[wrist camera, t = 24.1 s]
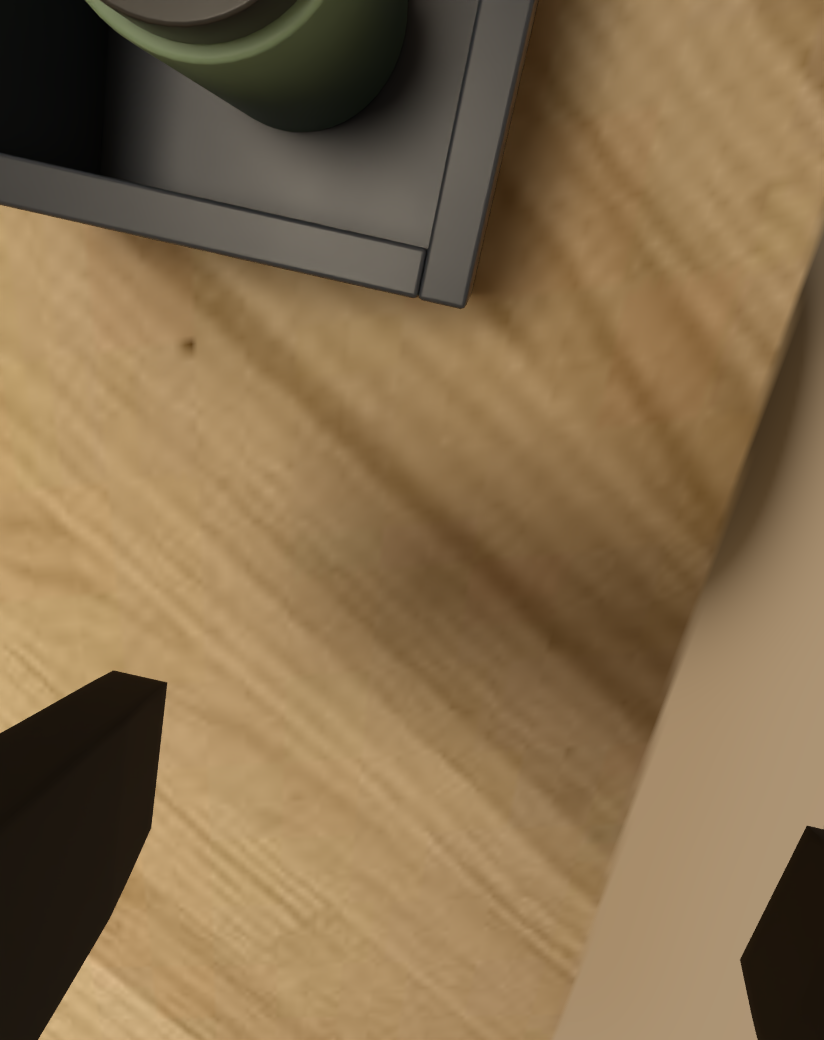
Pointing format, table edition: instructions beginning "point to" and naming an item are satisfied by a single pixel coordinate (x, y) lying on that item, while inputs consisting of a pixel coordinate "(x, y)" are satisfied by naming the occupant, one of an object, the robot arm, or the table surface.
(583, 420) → the table surface
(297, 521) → the table surface
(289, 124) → the green lidded canister
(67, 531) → the table surface
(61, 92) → the bin
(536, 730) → the table surface
